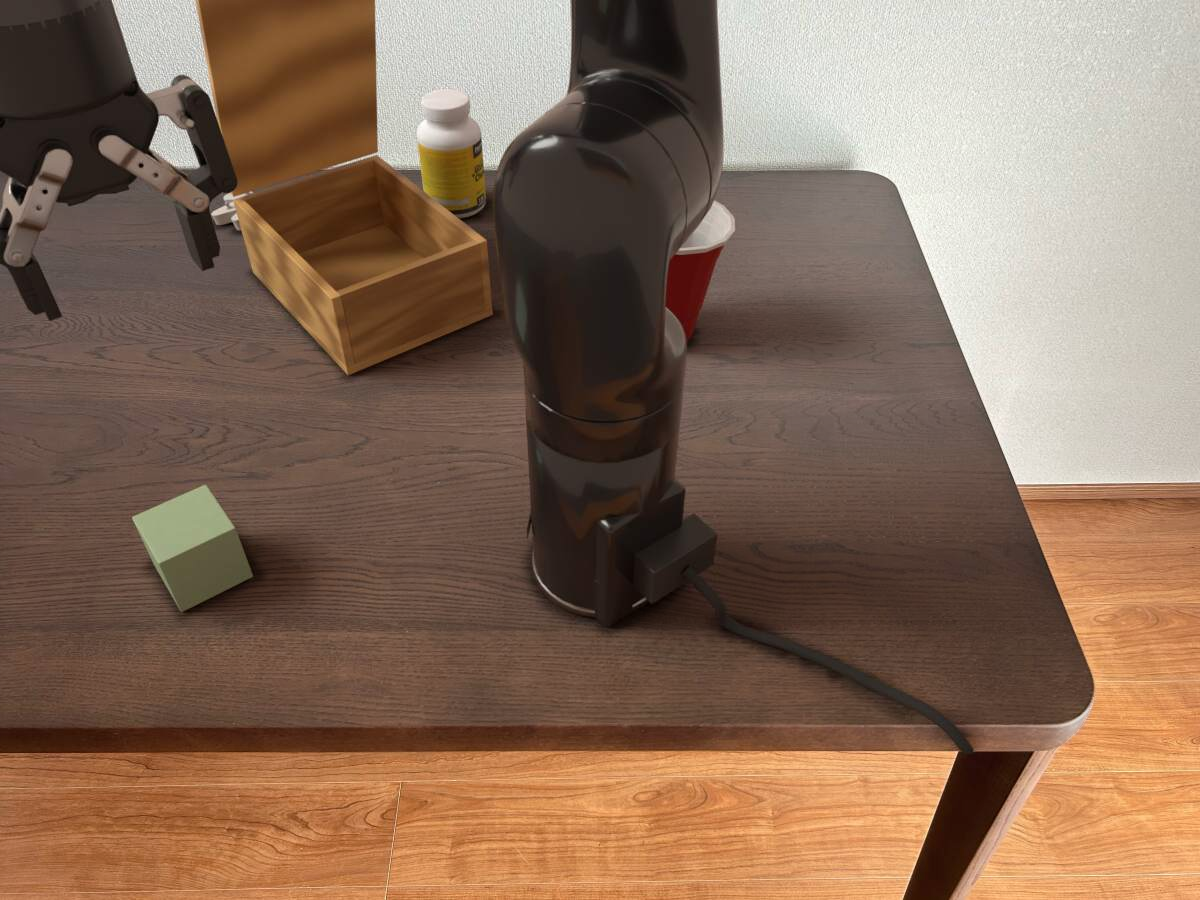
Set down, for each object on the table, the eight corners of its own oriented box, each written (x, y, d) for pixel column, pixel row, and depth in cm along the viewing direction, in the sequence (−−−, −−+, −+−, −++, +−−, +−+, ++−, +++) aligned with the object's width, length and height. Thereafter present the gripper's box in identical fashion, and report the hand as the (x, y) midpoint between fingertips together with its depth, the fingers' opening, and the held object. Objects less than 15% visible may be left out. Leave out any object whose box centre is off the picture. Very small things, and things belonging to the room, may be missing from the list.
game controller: (205, 217, 100) (198, 194, 98) (302, 181, 106) (298, 159, 104) (232, 238, 97) (225, 215, 96) (331, 200, 103) (326, 177, 101)
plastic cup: (746, 346, 86) (764, 226, 77) (641, 383, 82) (648, 261, 73) (679, 285, 92) (689, 168, 84) (579, 317, 88) (579, 198, 80)
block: (253, 576, 66) (235, 527, 63) (181, 612, 64) (158, 564, 60) (224, 533, 69) (205, 483, 65) (154, 566, 67) (131, 516, 63)
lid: (374, -56, 77) (369, -61, 77) (195, -20, 70) (190, -26, 71) (378, 152, 94) (374, 147, 94) (233, 197, 87) (229, 192, 87)
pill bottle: (476, 224, 100) (467, 116, 92) (416, 217, 101) (402, 109, 93) (494, 194, 104) (486, 88, 96) (436, 187, 105) (424, 82, 97)
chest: (493, 314, 88) (487, 240, 83) (348, 375, 82) (331, 298, 76) (387, 225, 100) (376, 154, 94) (252, 272, 93) (232, 199, 88)
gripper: (-147, 50, 39) (15, 366, 50) (200, -18, 45) (275, 276, 56) (-174, -3, 43) (-20, 298, 54) (146, -59, 50) (226, 222, 61)
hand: (130, 287), depth 55 cm, fingers open, 8 cm apart
